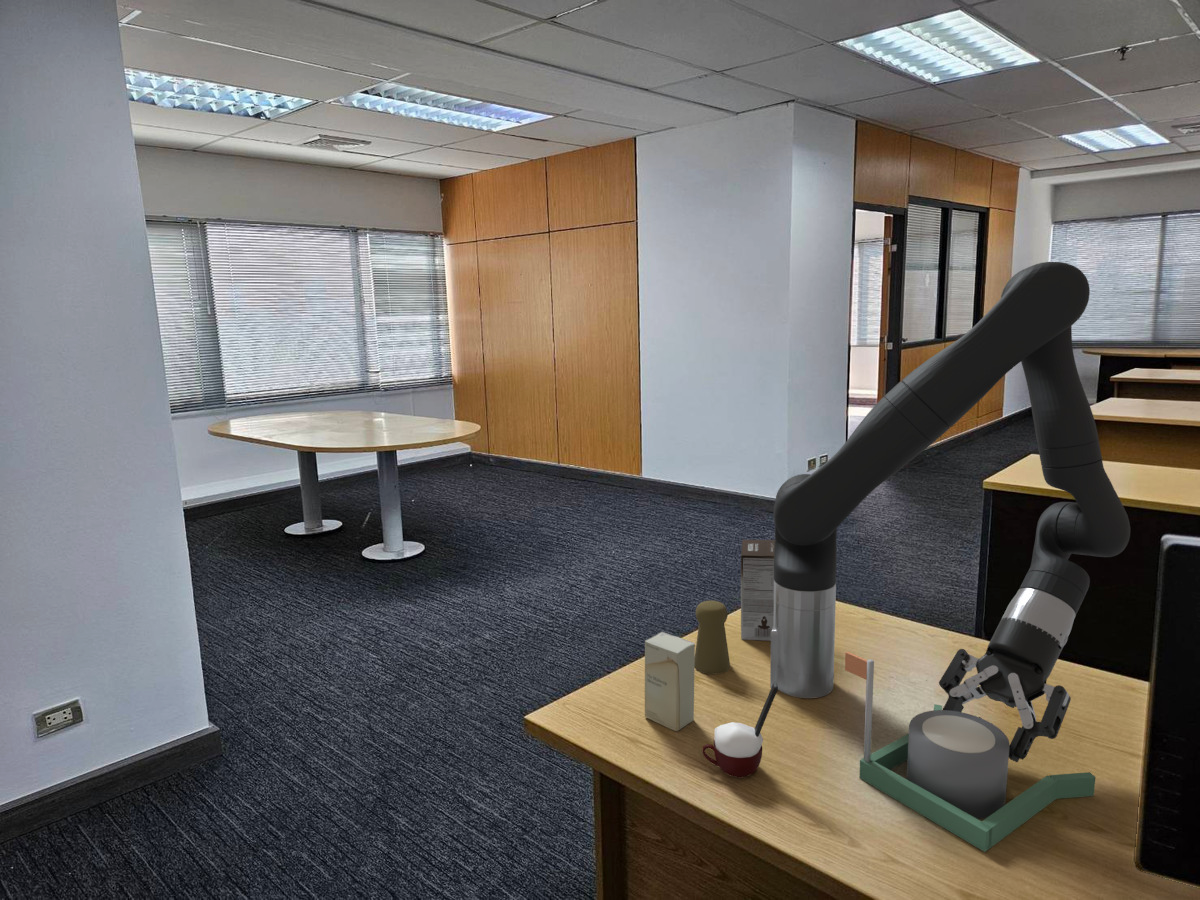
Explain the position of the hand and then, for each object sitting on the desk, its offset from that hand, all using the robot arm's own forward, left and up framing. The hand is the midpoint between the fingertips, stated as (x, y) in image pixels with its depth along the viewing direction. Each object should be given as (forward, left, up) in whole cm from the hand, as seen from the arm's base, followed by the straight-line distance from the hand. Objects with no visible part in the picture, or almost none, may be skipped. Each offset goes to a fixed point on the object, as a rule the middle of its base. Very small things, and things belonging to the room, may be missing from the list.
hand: (977, 742), depth 95 cm
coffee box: (-33, +35, -5) cm, 49 cm away
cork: (-38, +19, -5) cm, 43 cm away
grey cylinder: (-3, -4, -5) cm, 7 cm away
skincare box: (-40, +1, -5) cm, 40 cm away
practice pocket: (-1, -1, -5) cm, 5 cm away
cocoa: (-28, -8, -5) cm, 30 cm away
